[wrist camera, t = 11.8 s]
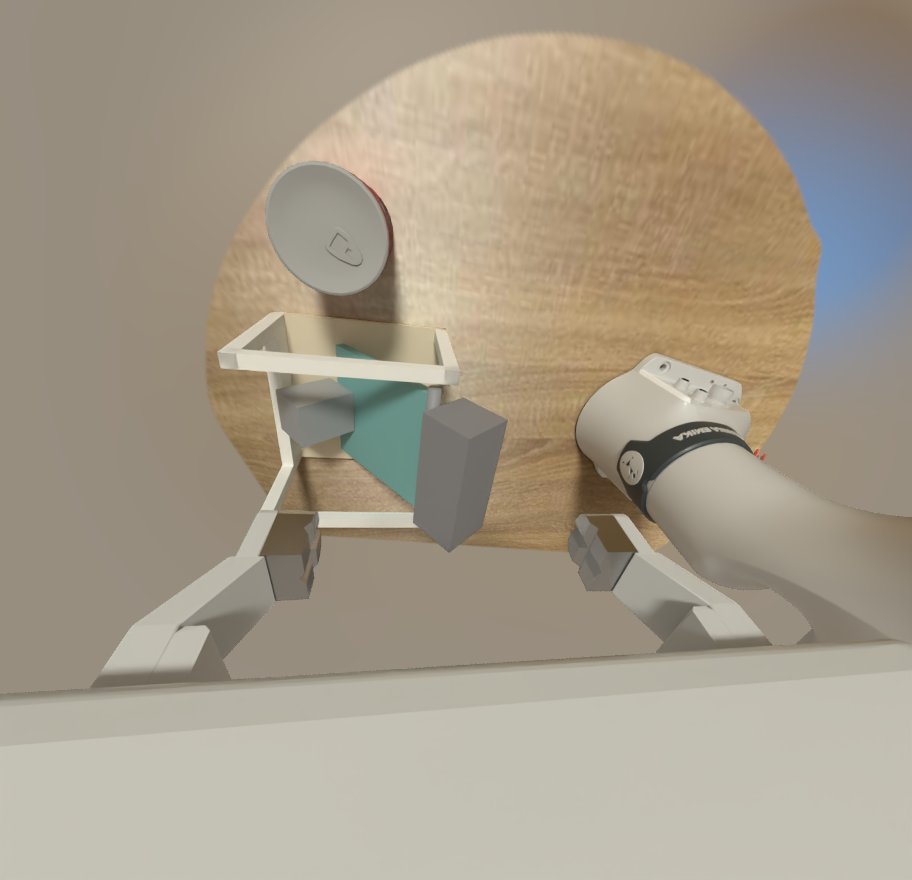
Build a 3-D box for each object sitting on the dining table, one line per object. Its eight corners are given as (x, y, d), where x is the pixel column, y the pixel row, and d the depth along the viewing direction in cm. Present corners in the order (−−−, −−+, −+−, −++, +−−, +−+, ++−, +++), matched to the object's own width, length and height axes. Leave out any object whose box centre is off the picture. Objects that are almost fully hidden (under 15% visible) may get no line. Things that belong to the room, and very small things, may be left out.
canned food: (378, 288, 35) (368, 314, 26) (295, 249, 33) (253, 264, 24) (406, 206, 32) (406, 203, 23) (316, 156, 29) (276, 130, 20)
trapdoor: (510, 409, 27) (471, 427, 24) (480, 533, 35) (447, 560, 32) (359, 336, 38) (318, 342, 34) (361, 444, 45) (327, 457, 42)
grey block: (353, 393, 37) (297, 407, 33) (354, 430, 39) (302, 448, 35) (330, 377, 39) (275, 389, 35) (332, 413, 41) (281, 428, 37)
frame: (445, 328, 38) (460, 371, 28) (430, 458, 48) (437, 527, 37) (272, 311, 35) (217, 352, 25) (292, 453, 44) (258, 527, 34)
